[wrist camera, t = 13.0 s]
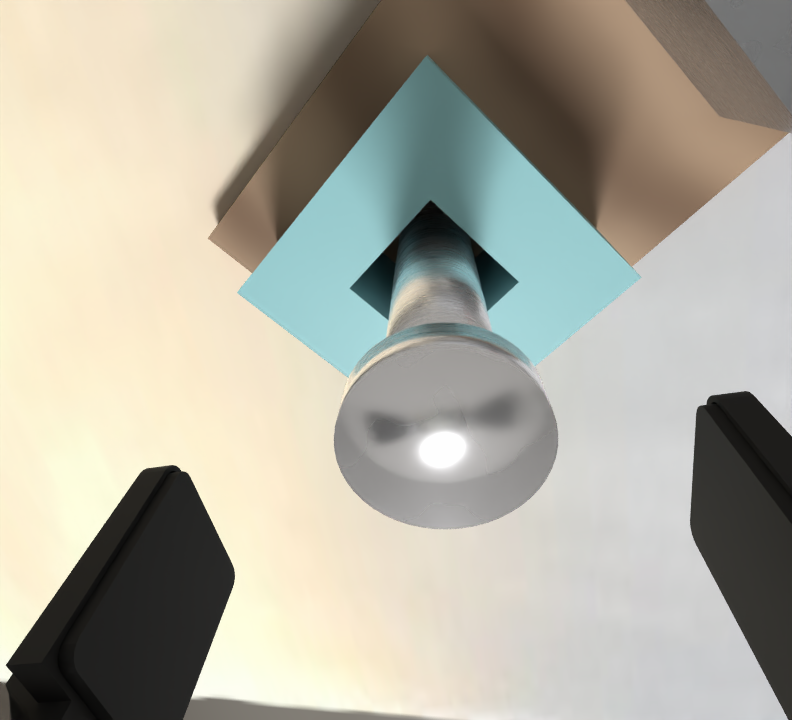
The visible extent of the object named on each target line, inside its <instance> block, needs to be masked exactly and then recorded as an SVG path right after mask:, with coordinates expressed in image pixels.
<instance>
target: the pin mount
mask: <svg viewBox="0 0 792 720" xmlns="http://www.w3.org/2000/svg"><path fill="white" fill-rule="evenodd" d="M625 1H626V2H627V4H628V5H629V6H630V7H631V8H632V10H633V11H634V12H635V13H636V15H637V16H638V17H639V18H640V20H641V21H642V22H643V23H644V24H645V26H646V27H647V28H648V29H649V31H650V32H651V33H652V34H653V36H654V37H655V38H656V39H657V40H658V42H659V43H660V44H661V45H662V47H663V48H664V49H665V50H666V52H667V53H668V54H669V55H670V56H671V58H672V59H673V60H674V61H675V63H676V64H677V65H678V66H679V68H680V69H681V70H682V71H683V72H684V74H685V75H686V76H687V77H688V79H689V80H690V81H691V82H692V84H693V85H694V86H695V87H696V88H697V90H698V91H699V92H700V93H701V95H702V96H703V97H704V98H705V100H706V101H707V102H708V103H709V104H710V106H711V107H712V108H713V109H714V111H715V112H716V113H717V114H718V116H719V117H723V118H728V119H732V120H736V121H741V122H745V123H749V124H754V125H758V126H762V127H767V128H771V129H775V130H780V131H784V132H788V133H792V0H625Z"/></svg>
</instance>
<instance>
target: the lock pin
mask: <svg viewBox="0 0 792 720" xmlns="http://www.w3.org/2000/svg"><path fill="white" fill-rule="evenodd" d="M557 448H558V430H557V423H556V419H555V416H554V413H553V410H552V407H551V405H550V402H549V399H548V396H547V393H546V391H545V388H544V385H543V382H542V379H541V377H540V375H539V373H538V371H537V369H536V368H535V366H534V365H533V364H532V362H531V361H530V359H529V358H528V357H527V356H526V355H525V354H524V353H523V352H522V351H521V350H520V349H519V348H518V347H516V346H515V345H514V344H512V343H511V342H510V341H508V340H507V339H505V338H503V337H501V336H500V335H498V334H496V333H493V332H492V328H491V324H490V320H489V316H488V312H487V308H486V303H485V299H484V295H483V291H482V287H481V283H480V279H479V275H478V271H477V266H476V262H475V258H474V254H473V250H472V246H471V242H470V238H469V235H468V234H467V233H466V232H465V231H464V230H463V229H462V228H461V227H459V226H458V225H457V224H456V223H455V222H454V221H453V220H452V219H451V218H450V217H449V216H448V215H447V214H445V213H444V212H443V211H442V210H441V209H440V208H439V207H438V206H437V205H436V204H435V203H434V202H433V201H429V202H428V203H427V204H426V205H425V206H424V207H423V208H422V209H421V210H420V212H419V213H418V214H417V215H416V216H415V217H414V218H413V219H412V220H411V221H410V222H409V224H408V225H407V226H406V227H405V228H404V229H403V230H402V231H401V232H400V235H399V243H398V251H397V258H396V266H395V273H394V281H393V289H392V296H391V304H390V312H389V319H388V327H387V335H386V338H385V339H383V340H382V341H380V342H379V343H377V344H376V345H375V346H373V347H372V348H371V349H370V350H369V351H368V352H367V353H365V354H364V356H363V357H362V358H361V359H360V360H359V361H358V363H357V364H356V365H355V367H354V369H353V370H352V372H351V373H350V375H349V378H348V380H347V382H346V384H345V388H344V392H343V396H342V400H341V404H340V408H339V413H338V417H337V421H336V425H335V433H334V449H335V454H336V459H337V463H338V465H339V468H340V470H341V473H342V474H343V476H344V478H345V480H346V481H347V483H348V484H349V486H350V487H351V488H352V489H353V491H354V492H355V493H356V494H357V495H358V496H359V497H360V498H361V499H362V500H363V501H364V502H366V503H367V504H368V505H370V506H371V507H372V508H374V509H375V510H377V511H379V512H380V513H382V514H384V515H386V516H388V517H390V518H392V519H394V520H397V521H400V522H403V523H406V524H409V525H414V526H418V527H424V528H431V529H459V528H466V527H472V526H477V525H480V524H484V523H488V522H490V521H493V520H496V519H498V518H500V517H502V516H504V515H506V514H509V513H510V512H512V511H514V510H515V509H517V508H518V507H520V506H521V505H522V504H524V503H525V502H526V501H527V500H529V499H530V498H531V497H532V496H533V495H534V494H535V493H536V492H537V491H538V490H539V488H540V487H541V486H542V484H543V483H544V482H545V480H546V479H547V477H548V475H549V473H550V471H551V469H552V467H553V464H554V461H555V458H556V454H557Z"/></svg>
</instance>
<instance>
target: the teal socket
mask: <svg viewBox="0 0 792 720" xmlns="http://www.w3.org/2000/svg"><path fill="white" fill-rule="evenodd" d="M430 200H432V201H433V202H434V203H435V204H436V205H437V206H438V207H439V208H440V209H441V210H442V211H443V212H444V213H445V214H447V215H448V216H449V217H450V218H451V219H452V220H453V221H454V222H455V223H456V224H457V225H458V226H459V227H461V228H462V229H463V230H464V231H465V232H466V233H467V234H468V235H469V236H470V237H471V238H472V239H473V240H474V241H476V242H477V243H478V244H479V245H480V246H481V247H482V248H483V249H484V250H483V251H482V252H481V253H480V254H479V255H478V256H477V257H476V258H475V262H476V266H477V271H478V275H479V279H480V283H481V287H482V291H483V295H484V299H485V303H486V308H487V312H488V316H489V320H490V324H491V328H492V332H493V333H496V334H498V335H500V336H501V337H503V338H505V339H507V340H508V341H510V342H511V343H512V344H514V345H515V346H516V347H518V348H519V349H520V350H521V351H522V352H523V353H524V354H525V355H526V356H527V357H528V358H529V359H530V361H531V362H532V364H533V365H534V366H536V365H537V364H538V363H539V362H541V361H542V360H543V359H544V358H545V357H547V356H548V355H549V354H550V353H551V352H553V351H554V350H555V349H556V348H557V347H559V346H560V345H561V344H562V343H563V342H565V341H566V340H567V339H568V338H569V337H571V336H572V335H573V334H574V333H575V332H577V331H578V330H579V329H580V328H581V327H583V326H584V325H585V324H586V323H587V322H589V321H590V320H591V319H592V318H593V317H595V316H596V315H597V314H598V313H599V312H601V311H602V310H603V309H604V308H605V307H606V306H608V305H609V304H610V303H611V302H612V301H614V300H615V299H616V298H617V297H618V296H620V295H621V294H622V293H623V292H624V291H626V290H627V289H628V288H629V287H630V286H632V285H633V284H634V283H635V282H636V281H638V280H639V279H640V278H641V277H640V275H639V274H638V273H637V272H636V271H635V270H634V269H633V268H632V267H631V266H630V265H629V263H628V262H627V261H626V260H625V259H624V258H623V257H622V256H621V255H620V254H619V253H618V251H617V250H616V249H615V248H614V247H613V246H612V245H611V244H610V243H609V242H608V241H607V240H606V238H605V237H604V236H603V235H602V234H601V233H600V232H599V231H598V230H597V229H596V228H595V227H594V226H593V224H592V223H591V222H590V221H589V220H588V219H587V218H586V217H585V216H584V215H583V214H582V213H581V212H580V211H579V210H578V209H577V208H576V207H575V206H574V205H573V204H572V203H571V202H570V201H569V200H568V199H567V198H566V197H565V196H564V195H563V194H562V193H561V192H560V191H559V190H558V189H557V187H556V186H555V185H554V184H553V183H552V182H551V181H550V180H549V179H548V178H547V177H546V176H545V175H544V174H543V173H542V172H541V171H540V170H539V169H538V168H537V167H536V166H535V165H534V164H533V163H532V162H531V161H530V160H529V159H528V158H527V157H526V156H525V155H524V154H523V153H522V152H521V151H520V149H519V148H518V147H517V146H516V145H515V144H514V143H513V142H512V141H511V140H510V139H509V138H508V137H507V136H506V135H505V134H504V133H503V132H502V131H501V130H500V129H499V128H498V127H497V126H496V125H495V124H494V123H493V122H492V121H491V120H490V119H489V118H488V117H487V116H486V115H485V114H484V112H483V111H482V110H481V109H480V108H479V107H478V106H477V105H476V104H475V103H474V102H473V101H472V100H471V99H470V98H469V97H468V96H467V95H466V94H465V93H464V92H463V91H462V90H461V89H460V88H459V87H458V86H457V85H456V84H455V83H454V82H453V81H452V80H451V79H450V78H449V77H448V75H447V74H446V73H445V72H444V71H443V70H442V69H441V68H440V67H439V66H438V65H437V64H436V63H435V62H434V61H433V60H432V59H431V58H430V57H429V56H428V55H427V56H426V57H425V58H424V59H423V60H422V62H421V63H420V64H419V65H418V67H417V68H416V69H415V70H414V72H413V73H412V74H411V76H410V77H409V78H408V79H407V81H406V82H405V83H404V84H403V86H402V87H401V88H400V89H399V91H398V92H397V93H396V94H395V96H394V97H393V98H392V99H391V101H390V102H389V103H388V104H387V106H386V107H385V108H384V109H383V111H382V112H381V113H380V114H379V116H378V117H377V118H376V119H375V121H374V122H373V123H372V124H371V126H370V127H369V128H368V129H367V131H366V132H365V133H364V134H363V136H362V137H361V138H360V139H359V141H358V142H357V143H356V144H355V146H354V147H353V148H352V149H351V151H350V152H349V153H348V154H347V156H346V157H345V158H344V159H343V161H342V162H341V163H340V164H339V166H338V167H337V168H336V169H335V171H334V172H333V173H332V174H331V176H330V177H329V178H328V179H327V181H326V182H325V183H324V184H323V186H322V187H321V188H320V189H319V191H318V192H317V193H316V194H315V196H314V197H313V198H312V199H311V201H310V202H309V203H308V204H307V206H306V207H305V208H304V209H303V211H302V212H301V213H300V214H299V216H298V217H297V218H296V219H295V221H294V222H293V223H292V224H291V226H290V227H289V228H288V229H287V231H286V232H285V233H284V234H283V236H282V237H281V238H280V239H279V241H278V242H277V243H276V244H275V246H274V247H273V248H272V249H271V251H270V252H269V253H268V254H267V256H266V257H265V258H264V259H263V261H262V262H261V263H260V264H259V266H258V267H257V268H256V269H255V271H254V272H253V273H252V275H251V276H250V277H249V278H248V280H247V281H246V282H245V283H244V285H243V286H242V287H241V288H240V290H239V291H238V292H237V293H238V294H239V295H241V296H242V297H243V298H245V299H246V300H247V301H249V302H250V303H251V304H253V305H254V306H255V307H256V308H258V309H259V310H260V311H262V312H263V313H264V314H266V315H267V316H268V317H269V318H271V319H272V320H273V321H275V322H276V323H277V324H279V325H280V326H281V327H283V328H284V329H285V330H286V331H288V332H289V333H290V334H292V335H293V336H294V337H296V338H297V339H298V340H300V341H301V342H302V343H303V344H305V345H306V346H307V347H309V348H310V349H311V350H313V351H314V352H315V353H317V354H318V355H319V356H320V357H322V358H323V359H324V360H326V361H327V362H328V363H330V364H331V365H332V366H334V367H335V368H336V369H337V370H339V371H340V372H341V373H343V374H344V375H345V376H347V377H348V378H349V375H350V373H351V372H352V370H353V369H354V367H355V365H356V364H357V363H358V361H359V360H360V359H361V358H362V357H363V356H364V354H365V353H367V352H368V351H369V350H370V349H371V348H372V347H373V346H375V345H376V344H377V343H379V342H380V341H382V340H383V339H385V338H386V335H387V327H388V319H389V312H390V304H391V296H392V289H393V281H394V273H395V266H396V264H395V263H394V262H393V261H392V260H391V259H390V258H389V257H387V256H386V255H385V254H384V253H383V251H384V250H385V249H386V248H387V247H388V246H389V244H390V243H391V242H392V241H393V240H394V239H395V238H396V237H397V236H398V235H399V233H400V232H401V231H402V230H403V229H404V228H405V227H406V226H407V225H408V224H409V222H410V221H411V220H412V219H413V218H414V217H415V216H416V215H417V214H418V213H419V212H420V210H421V209H422V208H423V207H424V206H425V205H426V204H427V203H428V202H429V201H430Z"/></svg>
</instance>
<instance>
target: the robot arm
mask: <svg viewBox="0 0 792 720" xmlns="http://www.w3.org/2000/svg"><path fill="white" fill-rule="evenodd" d="M690 525H691V531H692V535H693V538H694V541H695V543H696V545H697V547H698V549H699V551H700V553H701V555H702V557H703V558H704V560H705V562H706V564H707V566H708V568H709V570H710V572H711V574H712V575H713V577H714V579H715V581H716V583H717V585H718V587H719V589H720V591H721V593H722V594H723V596H724V598H725V600H726V602H727V604H728V606H729V608H730V610H731V612H732V613H733V615H734V617H735V619H736V621H737V623H738V625H739V627H740V629H741V630H742V632H743V634H744V636H745V638H746V640H747V642H748V644H749V646H750V648H751V649H752V651H753V653H754V655H755V657H756V659H757V661H758V663H759V665H760V667H761V668H762V670H763V672H764V674H765V676H766V678H767V680H768V682H769V684H770V685H771V687H772V689H773V691H774V693H775V695H776V697H777V699H778V701H779V703H780V704H781V706H782V708H783V710H784V712H785V714H786V716H787V718H788V720H792V436H791V435H790V434H789V433H788V432H787V431H786V430H785V429H784V428H783V427H782V426H781V424H780V423H779V422H778V421H777V420H776V419H775V418H774V417H773V416H772V415H771V414H770V413H769V411H768V410H767V409H766V408H765V407H764V406H763V405H762V404H761V403H760V402H759V401H758V400H757V398H756V397H755V396H754V395H753V394H751V393H750V392H747V391H744V392H736V393H728V394H721V395H713V396H710V397H709V398H708V400H707V405H703V406H699V407H698V409H697V413H696V428H695V446H694V463H693V481H692V498H691V515H690ZM234 580H235V572H234V567H233V565H232V563H231V560H230V558H229V556H228V554H227V552H226V550H225V548H224V546H223V544H222V542H221V540H220V538H219V536H218V534H217V531H216V529H215V527H214V525H213V523H212V521H211V519H210V517H209V515H208V513H207V511H206V509H205V507H204V505H203V502H202V500H201V498H200V496H199V494H198V492H197V490H196V488H195V486H194V484H193V482H192V480H191V478H190V476H189V474H188V473H186V472H183V471H181V470H180V468H178V467H177V466H174V465H170V466H163V467H155V468H147V469H145V470H143V471H142V472H141V473H140V474H139V476H138V477H137V478H136V480H135V481H134V483H133V484H132V486H131V487H130V488H129V490H128V491H127V493H126V494H125V496H124V497H123V498H122V500H121V501H120V503H119V504H118V506H117V507H116V508H115V510H114V511H113V513H112V514H111V516H110V517H109V518H108V520H107V521H106V523H105V524H104V526H103V527H102V528H101V530H100V531H99V533H98V534H97V536H96V537H95V538H94V540H93V541H92V543H91V544H90V546H89V547H88V548H87V550H86V551H85V553H84V554H83V556H82V557H81V558H80V560H79V561H78V563H77V564H76V566H75V567H74V568H73V570H72V571H71V573H70V574H69V576H68V577H67V579H66V580H65V581H64V583H63V584H62V586H61V587H60V589H59V590H58V591H57V593H56V594H55V596H54V597H53V599H52V600H51V601H50V603H49V604H48V606H47V607H46V609H45V610H44V611H43V613H42V614H41V616H40V617H39V619H38V620H37V621H36V623H35V624H34V626H33V627H32V629H31V630H30V631H29V633H28V634H27V636H26V637H25V639H24V640H23V641H22V643H21V644H20V646H19V647H18V649H17V650H16V651H15V653H14V654H13V656H12V657H11V659H10V660H9V661H8V663H7V664H6V666H7V667H8V669H9V670H10V671H11V672H12V673H13V674H12V676H11V677H10V679H9V680H8V682H7V683H6V685H5V684H3V683H1V682H0V720H183V718H184V715H185V712H186V710H187V707H188V705H189V702H190V699H191V697H192V694H193V691H194V689H195V686H196V683H197V681H198V678H199V675H200V673H201V670H202V668H203V665H204V662H205V660H206V657H207V654H208V652H209V649H210V646H211V644H212V641H213V638H214V636H215V633H216V630H217V628H218V625H219V623H220V620H221V617H222V615H223V612H224V609H225V607H226V604H227V601H228V599H229V596H230V593H231V591H232V588H233V585H234Z"/></svg>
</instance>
